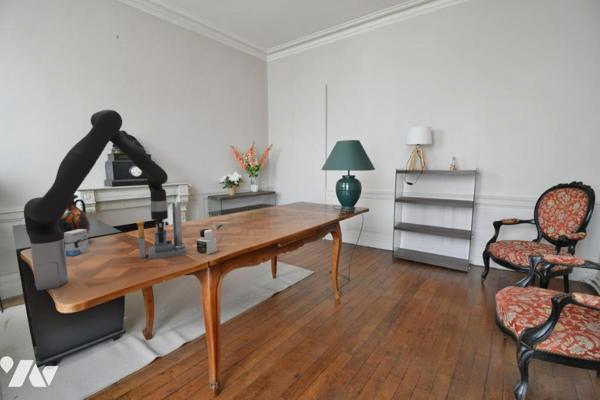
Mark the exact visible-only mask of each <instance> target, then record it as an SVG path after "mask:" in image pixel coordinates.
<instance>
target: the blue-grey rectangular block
mask: <svg viewBox="0 0 600 400" xmlns="http://www.w3.org/2000/svg"><path fill="white" fill-rule="evenodd" d="M159 233H162V232H159ZM163 236H164V243H159V236H158V232H157V230H156V231H154V238H155V241H154V242H156V245H164V244H167V240H168V237H167V230H166V229H164V235H163Z"/></svg>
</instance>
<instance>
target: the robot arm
mask: <svg viewBox="0 0 600 400" xmlns="http://www.w3.org/2000/svg"><path fill="white" fill-rule="evenodd" d="M90 124H91V126H92V127H91V129H90V130H89V132H88V133H87V134H86V135H85V136H84V137H83V138H81V139H80V140H79V141H78V142H77V143H75V145H73V147H71V149H69V151H68V152H67V153H66V155H65V156H64V158H63V159H62V160H61V162H60V163H59V166H58V168H57V172H56V177H55V180H54V182H53V183H52V185H51V187H50V188H49V189H48V190H47V192H46V193H45V194H44V195H43V196H41V197H40V196H38V197H34V198H31V199H29V200H28V201H27V202H26V203H25V205H24V206H23V207H24V208H23V217H24V218H23V219H24V224H25V230H26V233H27V236H28V238H29V243H30V251H31V259H32V268H33V275H34V276H33V277H34V285H35V289H36V290H37V291H42V290H43V291H45V290H49V289H56V288H61V286H64V285H65V284H68V282H69V277H68V276H69V275H68V268H67V257H66V256H67V255H66V249H65V246H64V236H63V232H62V230H61V229H60V228H59V225H58V220H59V219H60V218H61V217H62V216H63V215H64V213H65V211H66V209H67V207H68V205H69V203H70V201H71V199H72V197H73V195H76V194H75V193H76V192H77V190H78V189H79V188H80V186H81V185H82V184H83V182H84V180H85V179H86V178H87V177H88V175H89V173H91V171H92V169H93V168H94V166H95V165H96V163H97V162H98V160H99V159H100V156H101V155H102V153H103V152H104V150H105V148H106V146H107V145H108V144H109V142H111V144H113V145H114V146H116V147H117V148H118V149H119V150H120V151H121V152H122V153H123V154H124V155H125V156H126V157H127V158H128V159H129V160H131V162H132V163H133V164H134V165H135V166H136V167H137V168H138V169H139V170H140V171H142V172H144V173H146V174H147V175H146V182H147V185H148V189H149V192H150V219H151V220H153V221H156V222H155V227H156V231H157V232H158V236H159V243H164V236H163V235H164V230H165V225H166V224H165V221H163V220H166V219H168V218H169V213H168V212H169V211H168V201H167V192H166V190H165V189H164V188H163V185H165V183H166V182H167V181H168V179H169V178H168V177H169V175H168V173H167V172H166V170H164V168H162V167H161V166H160V165H159V164H157V163H156V162H155V161H153V159H152V158H151V157H150V155H148V154H147V152H146V151H144V149H143V148H141V147H140V146H139V145H137V144H136V143H134V142H133V141H131V140H130V139H129V138H127V137H126V136H125V135H124V133H123V132H121V129H122V126H123V119H122V116H121V114H120V113H119V112H117V111H116V110H114V109H102V110H101V111H97V112H95V113H93V114H92V115H91V117H90ZM159 232H162V233H159Z"/></svg>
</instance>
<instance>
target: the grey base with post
mask: <svg viewBox="0 0 600 400" xmlns="http://www.w3.org/2000/svg"><path fill="white" fill-rule="evenodd" d="M171 207H172V208H171V210H172V227H173V228H172V229H173V230H172V231H173V242H172V239H167V244H164V245H156V241H154V246H153V245H151V246H148V248H147V251H148V253H147V252H146V239H145V240H144V238H146V237H145V235H144V238H140V239H139V238H138V249H139V250H138V252H139V259H143V258H144V259H145V258H146V255H148V260H154V259H155V260H157V259H163V258H169V257H170V256H171V257H177V256H184V255H187V248H186V244H185V243H184V242H183V228H182V226H183V225H182V224H183V223H182V209H181V207H182V205H181V201H175V202H172V203H171ZM162 257H163V258H162ZM146 259H147V258H146Z"/></svg>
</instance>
